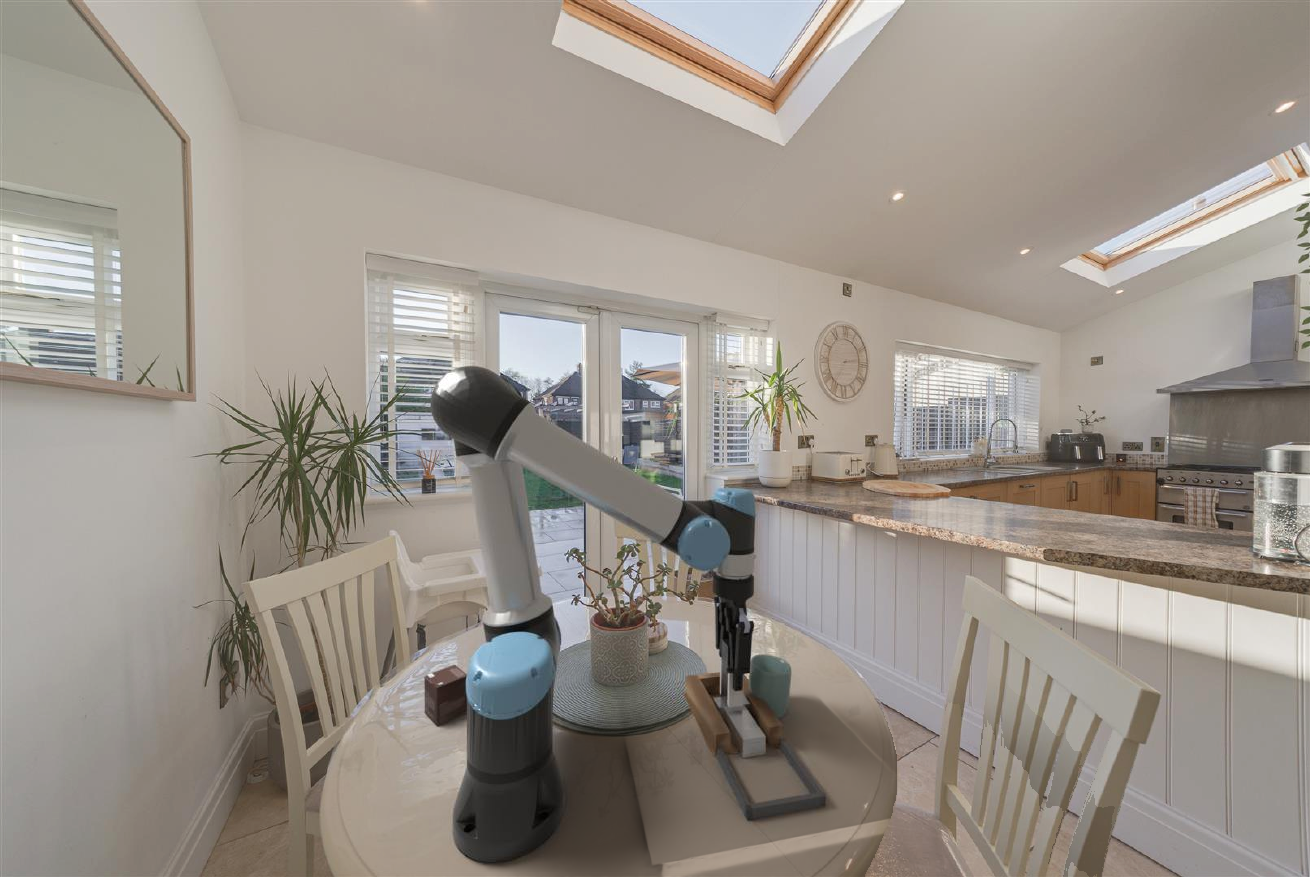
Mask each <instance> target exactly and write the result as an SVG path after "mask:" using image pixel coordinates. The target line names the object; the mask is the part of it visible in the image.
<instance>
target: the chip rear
mask: <svg viewBox="0 0 1310 877" xmlns="http://www.w3.org/2000/svg"><path fill="white" fill-rule="evenodd" d="M753 721H755V720H754V719H753V717H752V716H751V714H750V713H749V712H748V710H747V709H746V707H744V708H737V709H729V710H725V724H726V726H727V728H728V729H729V731H730V736H731V738H732V740H733V724H739V723H746V722H753Z"/></svg>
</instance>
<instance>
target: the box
mask: <svg viewBox="0 0 1310 877" xmlns="http://www.w3.org/2000/svg"><path fill="white" fill-rule="evenodd" d="M467 674H468V673H466V672H464V671H463V670H462V669H461V668H460V667H459V666H457V665H456V664H453V665H450V666H447V667H445V668H442V669H440V670H437V671H433V672H431V673H429V674H426V675H425V676H424V677H423V678H424V714H425V715H426V716H427V717H428V718H429V719H430V720H431V721H432V723H434V725H435V726H440V725H442V724H444V723H447V722H449V721H451V720H453V719H455V718H457V717H459V716H461V715H464V714H465V713H466V714H467V694H466V678H467Z"/></svg>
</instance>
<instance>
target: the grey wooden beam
mask: <svg viewBox="0 0 1310 877" xmlns="http://www.w3.org/2000/svg"><path fill="white" fill-rule="evenodd" d="M727 668H730V647H729V638H726V639H722V663H721V697H717V698H713V703H714V705H715V706H716V708H717V710H718V712H719V713H720V715H721V717H722V719H723V721H724V722H725V710H729V709H737V708H744V707H746V709H747V710H748V712H749V713H750V703H749V702H748V700H747V699H746V698H745V696H744V695H743V706H736V707H728V705H727V696H728V673H727V670H726V669H727Z"/></svg>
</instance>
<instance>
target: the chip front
mask: <svg viewBox="0 0 1310 877" xmlns="http://www.w3.org/2000/svg"><path fill="white" fill-rule="evenodd" d="M733 742H734V744H735V745H736V747H737V749H738V751H739V752H740V753H739V754H740V756H741V757H742V759H746V758H751V757H758V756H763V755H766V749H765V746H766V736H765V735H764V733H763V732H762V731H761V729H760V728H759V726H758V725H757V723H756V722H755V721H753V722H746V723H739V724H733Z"/></svg>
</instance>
